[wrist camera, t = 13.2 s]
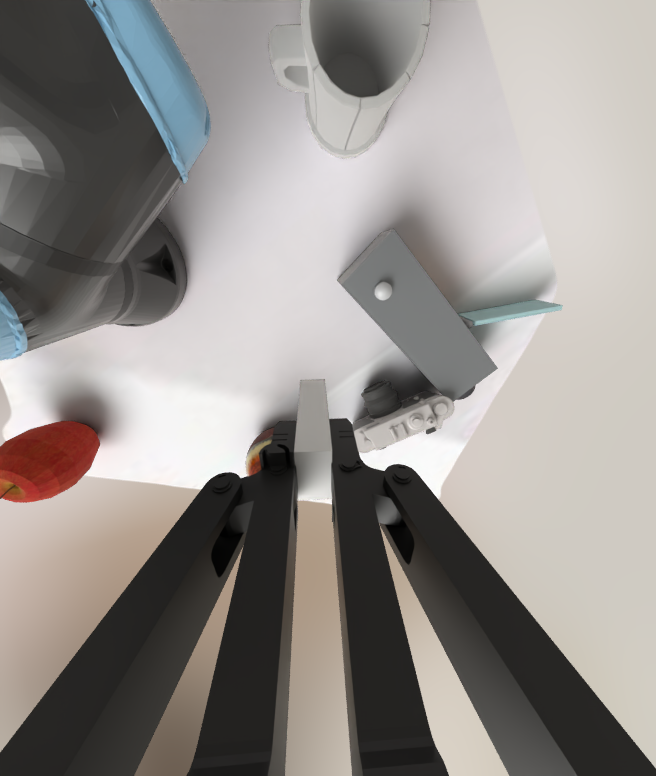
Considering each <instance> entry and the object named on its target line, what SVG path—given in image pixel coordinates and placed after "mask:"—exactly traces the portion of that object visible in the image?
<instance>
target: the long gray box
mask: <svg viewBox="0 0 656 776" xmlns="http://www.w3.org/2000/svg"><path fill="white" fill-rule="evenodd" d="M337 281H338V282H339V283H340V284H341V285H342V286H343V287H344V289H345V290H346V291H347V292H348V293H349V294H350V295H351V296H352V297H353V298H354V299H355V301H356V302H357V303H358V304H359V305H360V306H361V307H362V308H363V309H364V310H365V311H366V312H367V314H368V315H369V316H370V317H371V318H372V319H373V320H374V321H375V322H376V323H377V324H378V325H379V327H380V328H381V329H382V330H383V331H384V332H385V333H386V334H387V335H388V336H389V337H390V339H391V340H392V341H393V342H394V343H395V344H396V345H397V346H398V347H399V348H400V349H401V350H402V352H403V353H404V354H405V355H406V356H407V357H408V358H409V359H410V360H411V361H412V362H413V364H414V365H415V366H416V367H417V368H418V369H419V370H420V371H421V372H422V373H423V374H424V375H425V377H426V378H427V379H428V380H429V381H430V382H431V383H432V384H433V385H434V386H435V387H436V388H437V390H438V391H439V392H440V393H441V394H442V395H443V396H446V397H448V398H450V399H451V400H452V401H453V402H454V401H455V400H460V399H464V398H466V397H468V396H469V395H471V394H472V392H473V391H474V389H475V385H476V384H478V383H479V382H480V381H482V380H483V379H484V378H486V377H487V376H488V375H490V374H491V373H492V372H494V371H495V370H496V369H498V368H497V366H496V365H495V364H494V362H493V361H492V360H491V358H490V357H489V356H488V354H487V353H486V352H485V350H484V349H483V348H482V346H481V345H480V344H479V342H478V341H477V340H476V338H475V337H474V336H473V334H472V333H471V332H470V330H469V329H468V328H467V326H466V325H465V324H464V322H463V321H462V320H461V318H460V317H459V316H458V314H457V313H456V312H455V310H454V309H453V308H452V306H451V305H450V304H449V302H448V301H447V299H446V298H445V297H444V295H443V294H442V293H441V291H440V290H439V289H438V287H437V286H436V285H435V283H434V282H433V281H432V279H431V278H430V277H429V275H428V274H427V273H426V271H425V270H424V269H423V267H422V266H421V265H420V263H419V262H418V261H417V259H416V258H415V257H414V255H413V254H412V253H411V251H410V250H409V249H408V247H407V246H406V245H405V243H404V242H403V241H402V239H401V238H400V237H399V235H398V234H397V233H396V231H395V230H394V229H392V230H389V231H385V232H382V233H380V234H379V235H378V236H377V238H376V239H375V240H374V241H373V242H372V243H371V244H370V245H369V246H368V247H367V248H366V249H365V251H364V252H363V253H362V254H361V255H360V256H359V257H358V258H357V259H356V260H355V261H354V262H353V263H352V265H351V266H350V267H349V268H348V269H347V270H346V271H345V272H344V273H343V274H342V275H341V276H340V277H339V279H338V280H337Z"/></svg>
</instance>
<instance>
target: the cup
mask: <svg viewBox="0 0 656 776" xmlns="http://www.w3.org/2000/svg"><path fill="white" fill-rule="evenodd" d="M430 1H431V0H301V10H300V17H301V24H299V25H276V26H275V27H274V28H273V29H272V30H271V32H270V33H269V42H268V48H269V54H270V61H271V65H272V68H273V71H274V74H275V77H276V80H277V83H278V84H279V85H281V86H282V87H284V88H286V89H288V90H289V91H293V92H302V93H305V107H306V116H307V122H308V124H309V127H310V130H311V132H312V135H313V137H314V138H315V140H316V141H317V142H318V144H319V145H320V147H321V148H322V149H324V150H325V151H326V152H328V153H329V154H330V155H332V156H335V157H339V158H342V159H346V158H353V157H357V156H358V155H360V154H362V153H364V152H365V151H367V150H368V149H369V147H370V146H371V145H372V144H373V143H374V142H375V141H376V139H377V137H378V135H379V133H380V131H381V129H382V127H383V125H384V123H385V120H386V116H387V111H388V110H389V108H390V107H391V105H392V104H393V102H394V101H395V100H396V98H397V97H398V95H399V94H400V93H401V91H402V90H403V89H404V87H405V86H406V85H407V83H408V82H409V80H410V79H411V78H412V76H413V74H414V72H415V70H416V67H417V65H418V63H419V61H420V59H421V57H422V55H423V51H424V47H425V43H426V39H427V35H428V30H429V27H428V26H429V24H430Z"/></svg>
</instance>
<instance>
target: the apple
mask: <svg viewBox="0 0 656 776" xmlns="http://www.w3.org/2000/svg"><path fill="white" fill-rule="evenodd" d="M99 446H100V442H99V439H98V436H97V434H96V432H95V431H94V430H93V429H92V428H90V427H89V426H87V425H85V424H81V423H78V422H75V421H61V422H55V423H52V424H48V425H44V426H41V427H37V428H34V429H30V430H28V431H26V432H24V433H22V434H20V435H18V436H16V437H14V438H12V439H10V440H8V441H6V442H5V443H4V444H3V445H2V446H0V499H1V498H3V499H5V500H9V501H13V502H34V501H38V500H43V499H47V498H52V497H53V496H55V495H57V494H59V493H61V492H63V491H65V490H67V489H69V488H70V487H72V486H73V485H75V484H76V483H77V482H78V480H80V479H81V478H82V476H83V475H84V474H85V473H86V472H87V471H88V470H89V469H90V467H91V465H92V463H93V460H94V458H95V456H96V453H97V451H98V449H99Z"/></svg>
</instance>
